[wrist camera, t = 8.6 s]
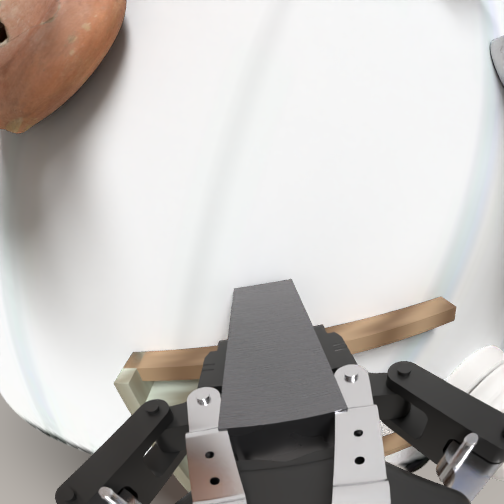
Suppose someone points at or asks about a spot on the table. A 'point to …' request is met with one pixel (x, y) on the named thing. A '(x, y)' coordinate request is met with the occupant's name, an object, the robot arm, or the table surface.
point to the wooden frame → (191, 360)
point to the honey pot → (483, 381)
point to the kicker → (276, 377)
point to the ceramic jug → (50, 53)
